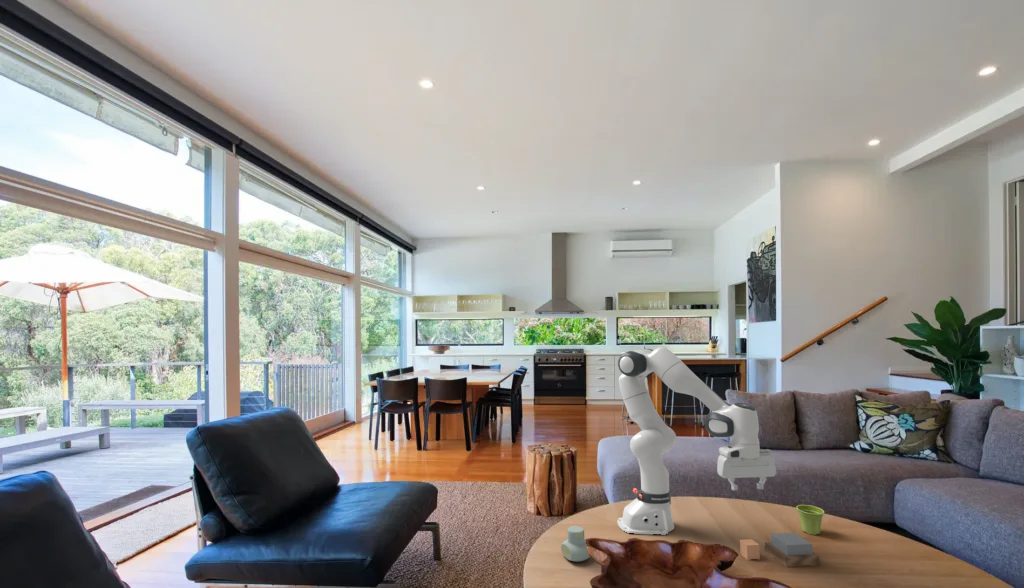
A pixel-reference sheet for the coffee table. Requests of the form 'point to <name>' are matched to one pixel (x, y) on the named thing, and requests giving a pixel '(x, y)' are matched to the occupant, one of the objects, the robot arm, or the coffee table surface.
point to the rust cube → (749, 549)
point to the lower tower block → (791, 557)
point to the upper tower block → (791, 544)
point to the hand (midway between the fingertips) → (747, 489)
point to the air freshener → (575, 545)
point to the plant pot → (810, 518)
